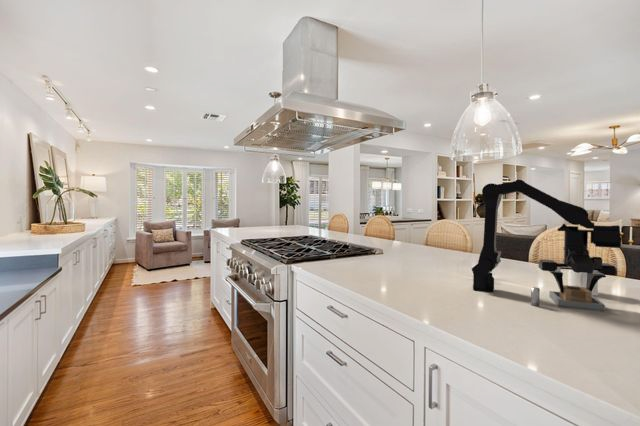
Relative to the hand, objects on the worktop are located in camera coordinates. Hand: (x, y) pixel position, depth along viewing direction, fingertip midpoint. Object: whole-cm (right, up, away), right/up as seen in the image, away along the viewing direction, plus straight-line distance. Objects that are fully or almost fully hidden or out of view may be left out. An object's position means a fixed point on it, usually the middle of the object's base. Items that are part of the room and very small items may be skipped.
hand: (574, 293), depth 98 cm
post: (-14, -3, -1) cm, 14 cm away
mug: (+12, -3, +11) cm, 17 cm away
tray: (0, -3, 0) cm, 3 cm away
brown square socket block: (0, -2, 0) cm, 2 cm away
